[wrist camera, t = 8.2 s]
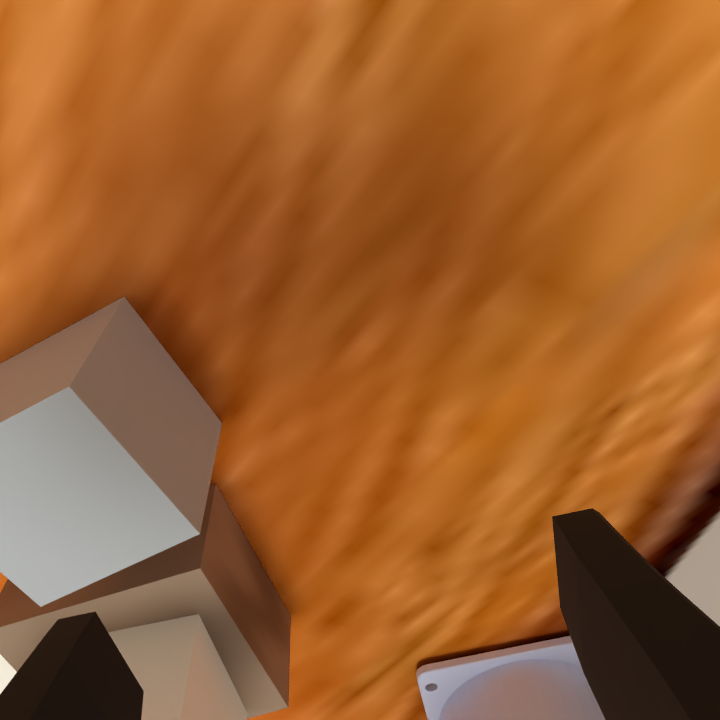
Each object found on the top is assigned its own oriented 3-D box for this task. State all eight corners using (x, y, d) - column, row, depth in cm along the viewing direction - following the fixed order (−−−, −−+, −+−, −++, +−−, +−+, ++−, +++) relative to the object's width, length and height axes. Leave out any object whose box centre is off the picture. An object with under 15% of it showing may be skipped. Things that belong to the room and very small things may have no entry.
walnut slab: (290, 610, 26) (288, 707, 22) (126, 657, 26) (98, 758, 23) (216, 478, 22) (200, 568, 19) (30, 535, 23) (-20, 633, 19)
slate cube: (222, 422, 21) (200, 534, 17) (94, 484, 22) (40, 606, 18) (125, 295, 19) (69, 386, 14) (-15, 370, 20) (-107, 478, 15)
